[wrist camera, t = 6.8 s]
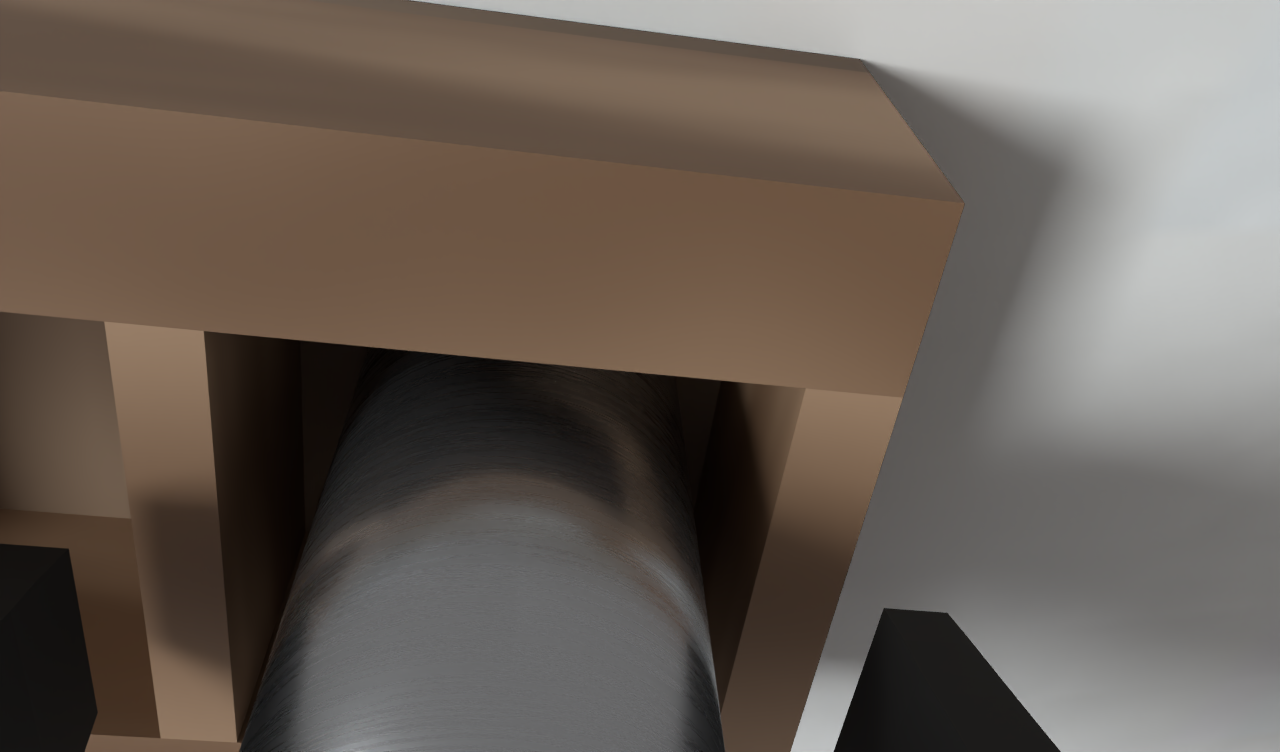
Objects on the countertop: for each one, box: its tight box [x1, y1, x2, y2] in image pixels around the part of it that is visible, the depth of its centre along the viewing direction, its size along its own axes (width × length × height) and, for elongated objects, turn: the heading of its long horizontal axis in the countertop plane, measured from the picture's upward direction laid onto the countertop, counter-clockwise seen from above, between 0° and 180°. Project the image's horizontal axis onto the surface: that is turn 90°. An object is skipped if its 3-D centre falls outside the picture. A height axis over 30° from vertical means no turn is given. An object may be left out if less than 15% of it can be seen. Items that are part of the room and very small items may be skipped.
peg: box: [239, 347, 725, 752], centre depth 11 cm, size 4×4×7 cm
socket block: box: [0, 0, 965, 752], centre depth 12 cm, size 9×13×4 cm
